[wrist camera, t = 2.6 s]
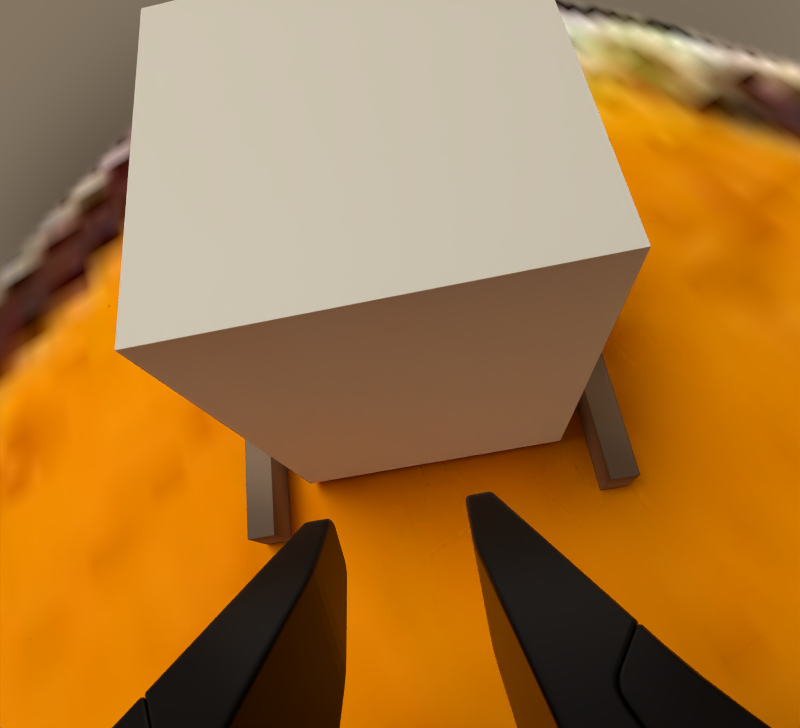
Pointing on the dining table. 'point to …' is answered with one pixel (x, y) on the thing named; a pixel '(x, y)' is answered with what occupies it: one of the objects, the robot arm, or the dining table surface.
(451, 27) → the cream crate
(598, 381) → the walnut bay
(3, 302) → the dining table surface
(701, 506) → the dining table surface
